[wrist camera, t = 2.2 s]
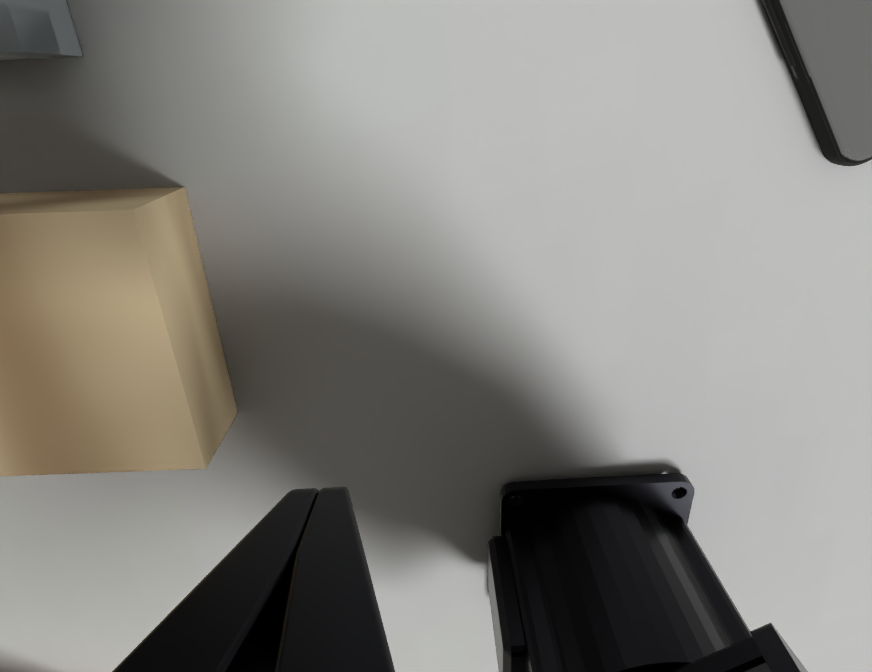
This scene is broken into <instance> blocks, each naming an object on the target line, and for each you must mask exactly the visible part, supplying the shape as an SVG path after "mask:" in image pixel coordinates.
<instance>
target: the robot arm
mask: <svg viewBox="0 0 872 672" xmlns="http://www.w3.org/2000/svg"><path fill="white" fill-rule="evenodd" d="M679 487H680V488H679ZM676 488H679V489H677V490H675V489H676ZM673 490H674V491H673ZM512 496H520V497H518V498H515V499H512V498H511V497H512ZM693 496H694V487H693V486H692V484H691V483H690V481H689V480H688V478H687V477H686V476H685V475H683V474H677V473H676V474H656V475H637V476H617V477H597V478H578V479H558V480H539V481H519V482H511V483H508V484H506V485H504V486H503V488H502V489H501V491H500V528H499V536H493V537H492V538H491V540H490V541H489V542H488V589H489V597H490V605H491V613H492V621H493V629H494V637H495V645H496V652H497V660H498V668H499V672H808V671H807V670H806V669H805V667H804V666H803V665H802V663H801V662H800V661H799V659H798V658H797V657H796V655H795V654H794V653H793V651H792V650H791V649H790V647H789V646H788V645H787V643H786V642H785V641H784V639H783V638H782V637H781V635H780V634H779V633H778V631H777V630H776V629H775V627H774V626H773V625H772V623H769V624H766V625H764V626H762V627H760V628H757V629H755V630H753V631H750V630H749V629H748V627H747V625H746V624H745V622H744V620H743V619H742V617H741V615H740V614H739V612H738V610H737V608H736V607H735V605H734V603H733V602H732V600H731V598H730V597H729V595H728V593H727V592H726V590H725V588H724V587H723V585H722V583H721V581H720V580H719V578H718V576H717V575H716V573H715V571H714V570H713V568H712V566H711V565H710V563H709V561H708V560H707V558H706V556H705V554H704V553H703V551H702V549H701V548H700V546H699V544H698V543H697V541H696V539H695V538H694V536H693V534H692V533H691V531H690V529H689V527H688V526H687V523H688V519H689V514H690V509H691V505H692V500H693ZM112 672H395V670H394V666H393V662H392V658H391V654H390V650H389V646H388V643H387V639H386V635H385V631H384V627H383V623H382V619H381V615H380V611H379V608H378V604H377V600H376V596H375V592H374V588H373V584H372V580H371V576H370V572H369V569H368V565H367V561H366V557H365V553H364V549H363V545H362V541H361V537H360V534H359V530H358V526H357V522H356V518H355V514H354V510H353V506H352V502H351V498H350V495H349V491H348V489H347V488H346V487H332V488H323V489H321V490H320V491H319V490H317V489H315V488H311V489H295V490H292V491H290V492H289V493H287V494H286V495H285V496H284V497H283V498H282V500H281V501H280V502H279V503H278V504H277V505H276V506H275V507H274V508H273V509H272V510H271V511H270V512H269V513H268V514H267V515H266V516H265V517H264V518H263V519H262V520H261V521H260V522H259V523H258V524H257V525H256V526H255V527H254V528H253V529H252V530H251V531H250V532H249V533H248V534H247V535H246V536H245V537H244V538H243V539H242V540H241V541H240V542H239V543H238V544H237V545H236V546H235V547H234V548H233V549H232V550H231V551H230V552H229V553H228V554H227V555H226V556H225V558H224V559H223V560H222V561H221V562H220V563H219V564H218V565H217V566H216V567H215V568H214V569H213V570H212V571H211V572H210V573H209V574H208V575H207V576H206V577H205V578H204V579H203V580H202V581H201V582H200V583H199V584H198V585H197V586H196V587H195V588H194V589H193V590H192V591H191V592H190V593H189V594H188V595H187V596H186V597H185V598H184V599H183V600H182V601H181V602H180V603H179V604H178V605H177V606H176V607H175V608H174V609H173V610H172V611H171V612H170V613H169V614H168V615H167V617H166V618H165V619H164V620H163V621H162V622H161V623H160V624H159V625H158V626H157V627H156V628H155V629H154V630H153V631H152V632H151V633H150V634H149V635H148V636H147V637H146V638H145V639H144V640H143V641H142V642H141V643H140V644H139V645H138V646H137V647H136V648H135V649H134V650H133V651H132V652H131V653H130V654H129V655H128V656H127V657H126V658H125V659H124V660H123V661H122V662H121V663H120V664H119V665H118V666H117V667H116V668H115V669H114V670H113V671H112Z"/></svg>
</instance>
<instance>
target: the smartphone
mask: <svg viewBox="0 0 872 672" xmlns="http://www.w3.org/2000/svg"><path fill="white" fill-rule="evenodd" d="M761 1H762V4H763V6H764V9H765V11H766V14H767V16H768V19H769V21H770V24H771V26H772V29H773V31H774V34H775V36H776V39H777V41H778V43H779V46H780V48H781V51H782V53H783V56H784V58H785V61H786V63H787V66H788V68H789V70H790V73H791V75H792V78H793V80H794V83H795V85H796V88H797V90H798V93H799V95H800V97H801V100H802V102H803V105H804V107H805V110H806V112H807V114H808V117H809V119H810V122H811V124H812V127H813V129H814V132H815V134H816V136H817V139H818V141H819V144H820V146H821V149H822V151H823V153H824V156H825V157H826V158H827V159H828V160H829V161H830V162H832V163H834V164H838V165H843V166H855V165H859V164H863V163H865V162H867V161H869V160H871V159H872V0H761Z"/></svg>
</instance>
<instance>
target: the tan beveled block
mask: <svg viewBox="0 0 872 672" xmlns="http://www.w3.org/2000/svg"><path fill="white" fill-rule="evenodd" d="M237 413H238V412H237V407H236V403H235V399H234V395H233V390H232V386H231V382H230V378H229V373H228V369H227V365H226V361H225V356H224V352H223V348H222V344H221V339H220V335H219V331H218V326H217V322H216V318H215V314H214V309H213V305H212V301H211V297H210V292H209V288H208V284H207V280H206V275H205V271H204V267H203V263H202V258H201V254H200V250H199V245H198V241H197V237H196V233H195V228H194V224H193V220H192V216H191V211H190V207H189V203H188V199H187V194H186V190H185V187H170V188H140V189H111V190H81V191H52V192H22V193H0V476H18V475H45V474H73V473H100V472H128V471H156V470H183V469H206V468H207V466H208V464H209V463H210V461H211V459H212V457H213V456H214V454H215V452H216V450H217V448H218V447H219V445H220V443H221V441H222V440H223V438H224V436H225V434H226V433H227V431H228V429H229V427H230V425H231V424H232V422H233V420H234V418H235V417H236V415H237Z"/></svg>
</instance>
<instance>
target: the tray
mask: <svg viewBox="0 0 872 672" xmlns="http://www.w3.org/2000/svg"><path fill="white" fill-rule="evenodd" d="M75 56H83V55H82V52H81V48H80V45H79V42H78V38H77V35H76V32H75V29H74V25H73V22H72V19H71V15H70V12H69V9H68V5H67V2H66V0H0V60H18V59H37V58H56V57H75Z"/></svg>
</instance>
